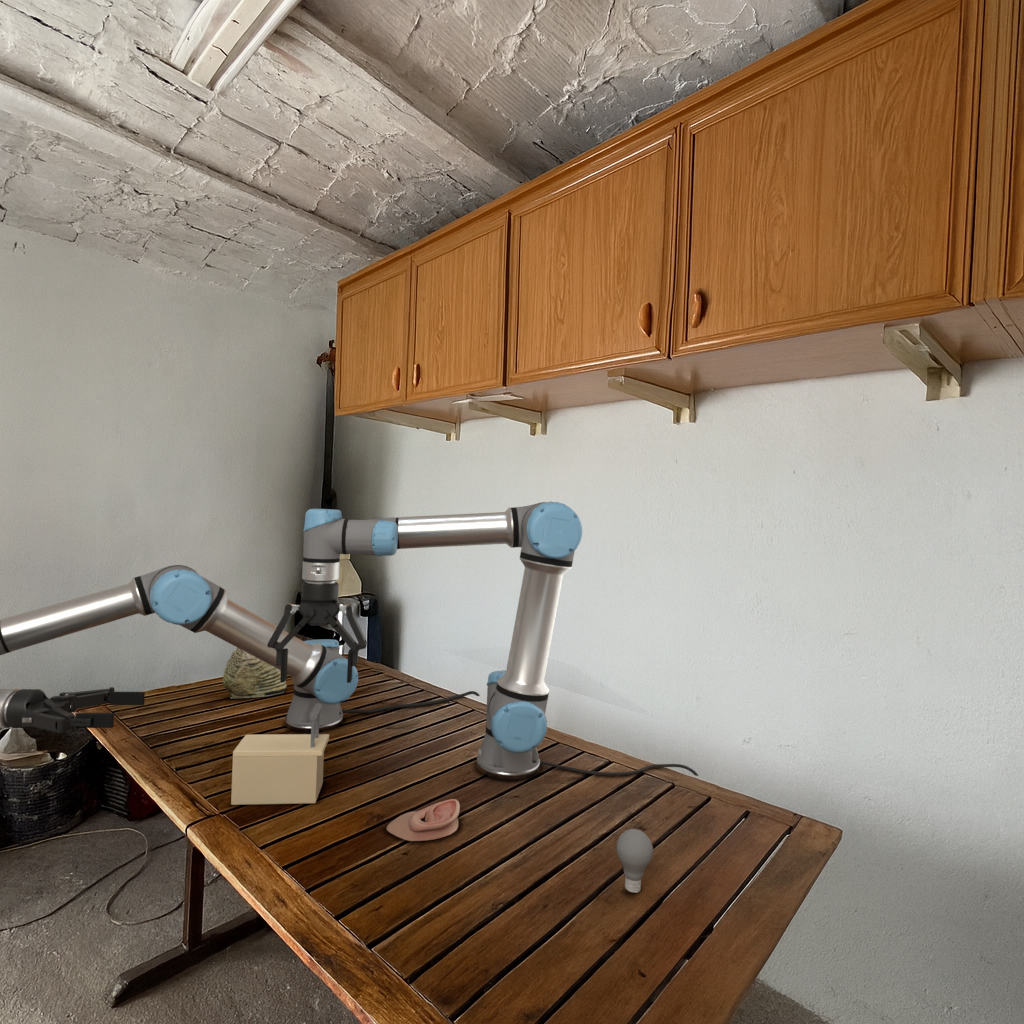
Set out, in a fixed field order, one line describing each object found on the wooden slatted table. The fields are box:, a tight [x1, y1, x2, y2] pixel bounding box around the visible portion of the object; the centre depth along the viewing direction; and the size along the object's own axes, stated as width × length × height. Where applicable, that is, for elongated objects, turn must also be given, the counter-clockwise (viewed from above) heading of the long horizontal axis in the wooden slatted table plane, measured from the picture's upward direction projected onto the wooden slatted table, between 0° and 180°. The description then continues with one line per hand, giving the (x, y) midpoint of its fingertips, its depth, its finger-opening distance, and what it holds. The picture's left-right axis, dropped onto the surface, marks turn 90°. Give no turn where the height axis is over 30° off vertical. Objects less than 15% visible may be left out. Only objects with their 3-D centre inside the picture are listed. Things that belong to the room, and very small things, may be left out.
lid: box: [232, 703, 330, 758], centre depth 134 cm, size 18×9×8 cm, turn 98°
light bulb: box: [615, 828, 654, 894], centre depth 106 cm, size 6×6×10 cm
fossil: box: [222, 647, 288, 699], centre depth 198 cm, size 9×18×15 cm, turn 132°
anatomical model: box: [386, 798, 461, 842], centre depth 123 cm, size 13×4×12 cm
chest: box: [230, 751, 325, 806], centre depth 134 cm, size 17×9×10 cm, turn 98°
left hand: (129, 708), depth 130 cm, fingers open, 13 cm apart
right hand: (316, 681), depth 135 cm, fingers open, 13 cm apart
